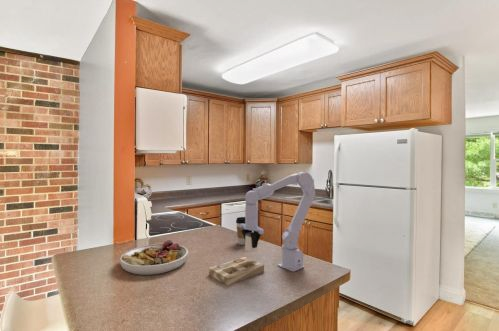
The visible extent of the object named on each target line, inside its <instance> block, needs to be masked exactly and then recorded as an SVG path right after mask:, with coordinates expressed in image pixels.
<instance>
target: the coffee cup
mask: <svg viewBox="0 0 499 331" xmlns="http://www.w3.org/2000/svg"><path fill="white" fill-rule="evenodd" d="M242 223H244V224H245V216H241V217H240V216H238V217H236V220H235V224H236V233H237V244H238V245H244V246H245V239H244V236H243V234H242V232H241V230H243V229H244V228H240V224H242Z"/></svg>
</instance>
